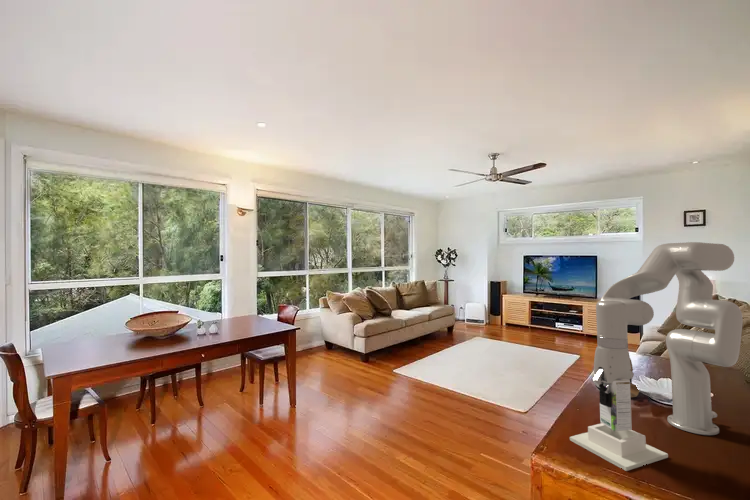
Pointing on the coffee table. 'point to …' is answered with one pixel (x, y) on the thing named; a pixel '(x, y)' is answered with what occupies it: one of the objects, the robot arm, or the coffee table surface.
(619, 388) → the syrup box
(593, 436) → the dock socket
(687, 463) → the coffee table surface
